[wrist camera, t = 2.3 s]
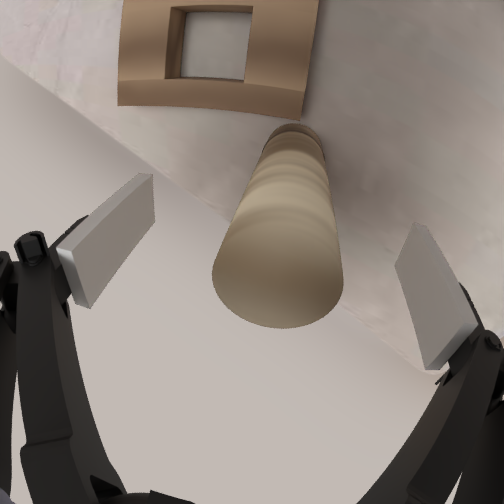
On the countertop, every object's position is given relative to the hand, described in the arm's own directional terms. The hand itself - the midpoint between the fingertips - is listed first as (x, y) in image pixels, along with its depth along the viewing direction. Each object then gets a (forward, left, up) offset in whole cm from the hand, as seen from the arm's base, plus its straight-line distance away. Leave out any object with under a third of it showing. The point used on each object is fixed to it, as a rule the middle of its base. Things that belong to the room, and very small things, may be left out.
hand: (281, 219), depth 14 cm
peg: (0, 0, -11) cm, 11 cm away
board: (-11, -7, -11) cm, 17 cm away
